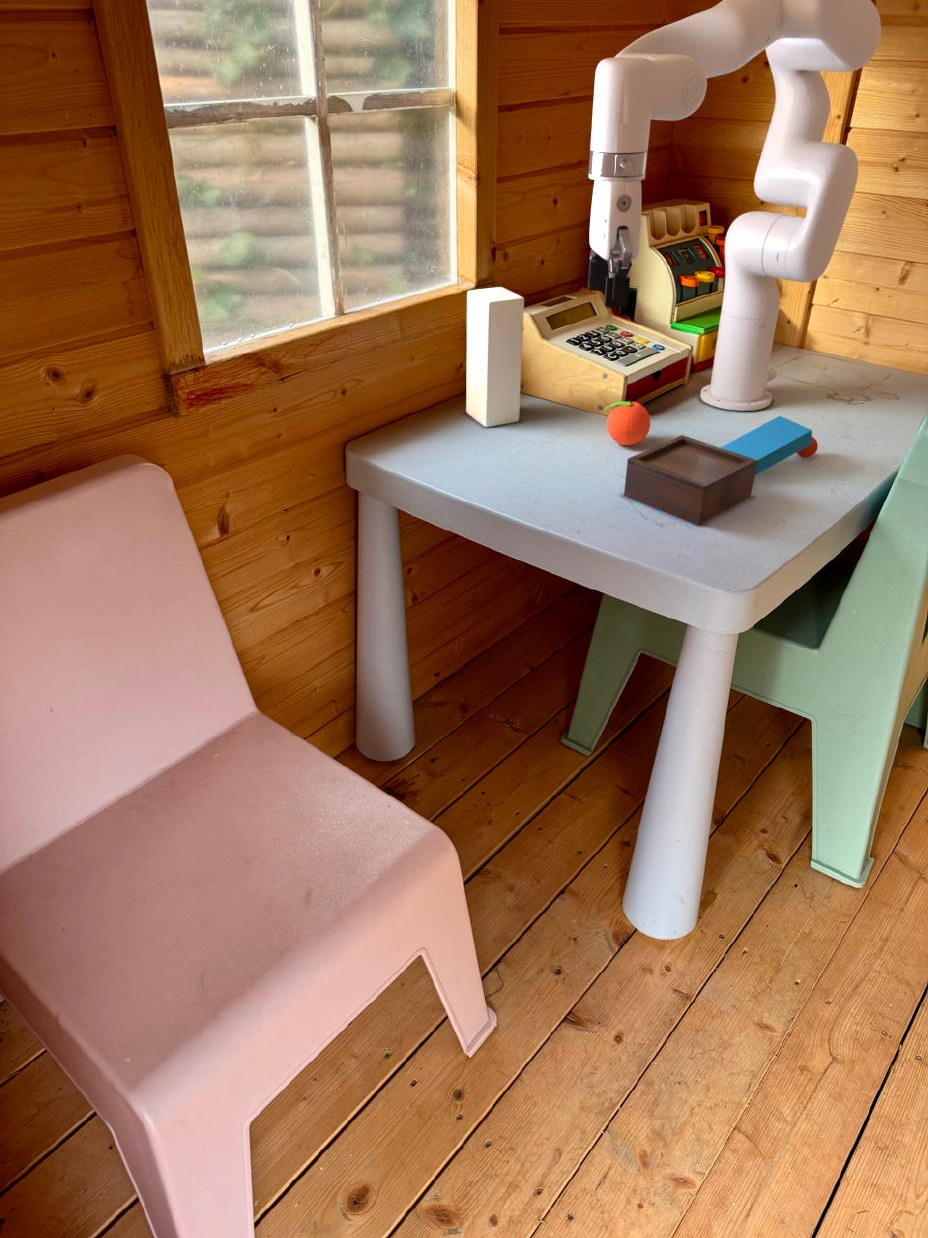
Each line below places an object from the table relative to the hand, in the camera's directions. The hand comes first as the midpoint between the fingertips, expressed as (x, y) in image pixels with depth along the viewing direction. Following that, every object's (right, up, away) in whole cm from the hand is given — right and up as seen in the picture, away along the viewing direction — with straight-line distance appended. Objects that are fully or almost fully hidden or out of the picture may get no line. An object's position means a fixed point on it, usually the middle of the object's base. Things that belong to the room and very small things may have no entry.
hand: (606, 297), depth 131 cm
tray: (+12, -28, +2) cm, 31 cm away
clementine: (+6, -17, +18) cm, 26 cm away
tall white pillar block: (-15, -11, +29) cm, 34 cm away
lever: (+26, -22, +11) cm, 36 cm away
